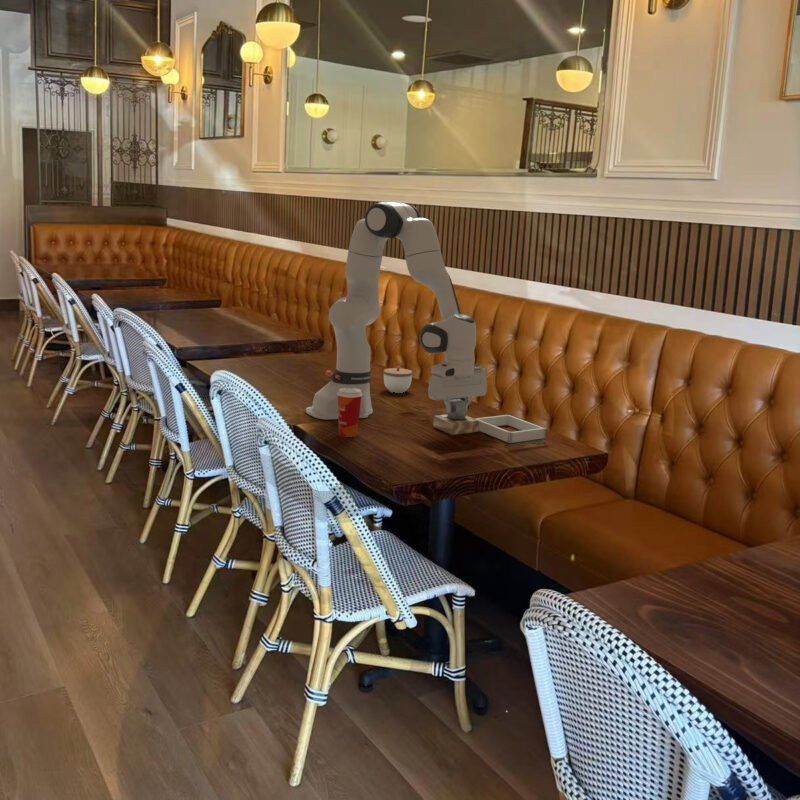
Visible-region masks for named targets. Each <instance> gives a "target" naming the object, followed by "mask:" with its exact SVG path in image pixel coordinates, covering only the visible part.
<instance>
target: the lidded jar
mask: <svg viewBox="0 0 800 800" xmlns="http://www.w3.org/2000/svg"><path fill="white" fill-rule="evenodd" d="M412 379H413V370H411V369H407V368H400V366H399V365H398V366H396V367H393V368H392V367H391V368H389V367H388V368H385V369H383V383H384V386H385V388H386V389H387V391H388V392H390V393H393V392H395V393H394V394H402V393H403V392H404V393H405V392H406V391H407V390H408V389H409V388H410V386H411V383H412ZM404 393H403V394H404Z"/></svg>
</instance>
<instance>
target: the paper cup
mask: <svg viewBox="0 0 800 800" xmlns="http://www.w3.org/2000/svg"><path fill="white" fill-rule="evenodd" d="M337 395H338V419H337V420H338V435H340V436H339V437H341V436H342V438H345V437H353V438H356V437H358V433H359V424H360V418H359V416H360V405H361V396H362V393H361V390H360V389H356V388H353V389H352V388H341V389H339V390H338V393H337Z"/></svg>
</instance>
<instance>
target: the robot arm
mask: <svg viewBox="0 0 800 800" xmlns="http://www.w3.org/2000/svg"><path fill="white" fill-rule="evenodd" d="M389 239H392V240H393V239H398V240H399V241H401V243H402V246H403V250H404V257H405V263H406V267H407V270H408V273H409V275H410V278H412V279H413V280H414V281H415V282H417V283H418V284H420V285H422V286H424V287H426V288H428V289H429V290H431V292H432V293H433V294H434V296H435V298H436V302H437V306H438V309H439V312H440V316H441V320H439V321H434V322H430V323H427V324H425V325H424V326H423V327H422V328H421V330H420V332H419V336H418V337H419V344H420V346H421V348H422V349H423V350H424V351H425V352H426V353H429V354H433V355H434V354H436V355H437V354H442V353H443V354H445V360H443V361H442V362H439V363H438V364H435V365H432V366H431V367H430V373H431V374H432V375H431V376H430V377H429V381H428V382H429V383H428V388H427V390H428V392H427V394H428V395H427V396H428V397H429V399H431V400H434V401H443V403H444V405H445V406H446V409H445V411H446V413H447V414H448V413H452V412H453V407H451V405H450V402H451V399H455V398H464V399H465V401H466V402H467V403H466V412H467V411H468V410H469V409H468V405H469V406H470V404H471V402H472V398H473V397H482V396H483V397H484V396H485V395H486V394H487V393H488V381H487V379H488V378H487V369H486V368H485V367H484V366H482V365H479V366H475V363H476V362H475V361H476V358H475V348H476V346H477V324H476V321H475V319H474V318H473V317H472V316H469V315H467V314H465V313H463V314H462V313H461V308H460V306H459V302H458V298H457V293H456V291H455V288H454V285H453V281H452V278H451V276H450V275H449V273H448V271H447V269H446V266H445V264H444V260H443V255H442V251H441V246H440V241H439V237H438V234H437V230H436V228H435V226H434V224H433V222H432V221H431V220H430V219H428V218H425V217H422V214H421V212H420V210H419V209H418V208H417V207H416V206H414V205H412V204H411V203H408V202H402V201H401V202H400V201H379V202H376V203H374V204H372V205H371V206H369V207H368V209H367V210H366V212H365V215H364V217H363V218H361V219H359V220H358V221H357V222H356V224H355V225H354V228H353V231H352V235H351V237H350V241H349V245H348V251H347V258H346V264H345V268H344V276H345V279H346V286H347V294H346V296H345V297H343V296H342V297H340V298H339V299H338V300H337V301H335V302H334V303H332V305H331V306H330V308H329V310H328V319H329V323H330V324H331V325H332V327H333V330H334V334H335V335H334V336H335V342H336V368H335V370H334V371H331V370H330V369H329V370H328V369H327V370H326V372H325V375H326V377H328V378H331V380H330V381H329V382H328V383H327V384H326V385H324V386H323V387H322V388H321V389H319V390H318V391H316V392H315V394H314V397H313V401H312V406H309V407H305V413H306V414H307V415H309V416H311V417H313V418H315V419H320V420H327V421H328V420H338V395H337V393H338V390H339V389H341V388H352V389H353V388H356V389H360V390H361V393H362V396H361V405H360V416H359V419H366V418H368V417H369V416H370V415H372V414H373V413H374V410H373V405H372V401H371V390H370V386H371V380H372V371H371V354H372V353H371V346H370V343H369V341H368V337H367V327H368V326H370V325H372V324H373V323H374V322H375V321H376V320H377V319H378V318H379V316H380V315H381V304H380V301H379V279H380V278H379V277H380V272H381V266H382V260H383V254H384V249H385V244H386V242H387V241H388V240H389Z"/></svg>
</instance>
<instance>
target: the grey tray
mask: <svg viewBox="0 0 800 800" xmlns="http://www.w3.org/2000/svg"><path fill="white" fill-rule="evenodd" d="M474 419H476V420H479V427H478V432H481V433H484V434H487V435H489V436H491V437H494V438H496V439H499V440H501V441H503V442H505V443H508V444H504V445H505V446H504V447H506V446H508V447H511V448H513V447H512V446H518V447H520V446H519V445H525V446H528V445H527V444H532V445H537V444H536V443H539V444H545V443H546V432H547V428H545V427H543V426H541V425H537V424H535V423H531V422H529V421H526V420H524V419H522V418H519V417H516V416H513V415H510V414H502V415H494V416H493V415H492V416H486V417H485V416H484V417H477V418H474ZM501 426H510V427H512V428H515V429H517V431H516V430H515V431H509V430H507V429H504V428H502V427H501ZM544 442H545V443H544ZM508 447H507V448H508Z"/></svg>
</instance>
